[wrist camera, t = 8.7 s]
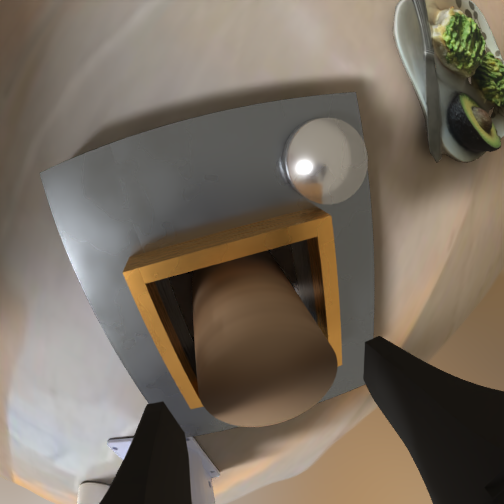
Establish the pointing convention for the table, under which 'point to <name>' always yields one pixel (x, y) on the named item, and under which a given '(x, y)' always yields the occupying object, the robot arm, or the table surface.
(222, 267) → the walnut peg
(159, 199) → the gray peg socket base
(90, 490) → the can
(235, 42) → the table surface
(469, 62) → the salad plate
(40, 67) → the table surface
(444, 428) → the robot arm
